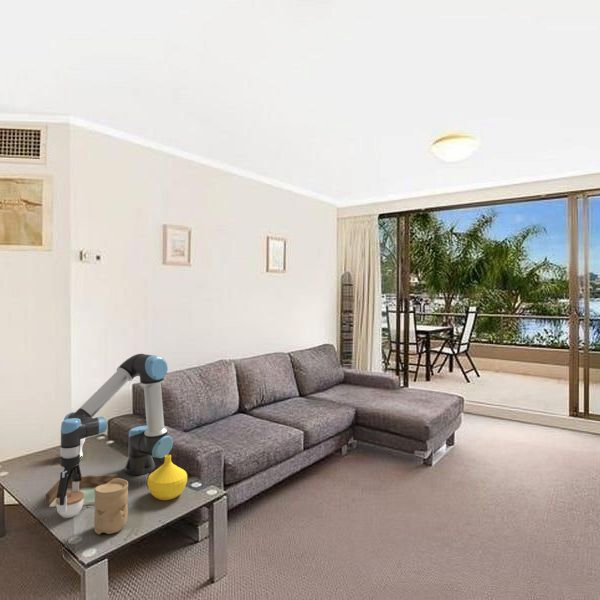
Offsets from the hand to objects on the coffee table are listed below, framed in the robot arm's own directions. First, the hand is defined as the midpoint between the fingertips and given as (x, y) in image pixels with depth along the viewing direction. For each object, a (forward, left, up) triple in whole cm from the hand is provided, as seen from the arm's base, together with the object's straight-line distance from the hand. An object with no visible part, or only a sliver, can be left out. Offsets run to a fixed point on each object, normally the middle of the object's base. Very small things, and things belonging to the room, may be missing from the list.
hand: (69, 503), depth 183 cm
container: (-21, +13, -5) cm, 25 cm away
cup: (+22, -65, -5) cm, 69 cm away
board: (0, -16, -5) cm, 17 cm away
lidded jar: (0, 0, -5) cm, 5 cm away
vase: (-39, -13, -5) cm, 42 cm away
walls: (0, -16, -5) cm, 17 cm away
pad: (-4, -15, -5) cm, 17 cm away
